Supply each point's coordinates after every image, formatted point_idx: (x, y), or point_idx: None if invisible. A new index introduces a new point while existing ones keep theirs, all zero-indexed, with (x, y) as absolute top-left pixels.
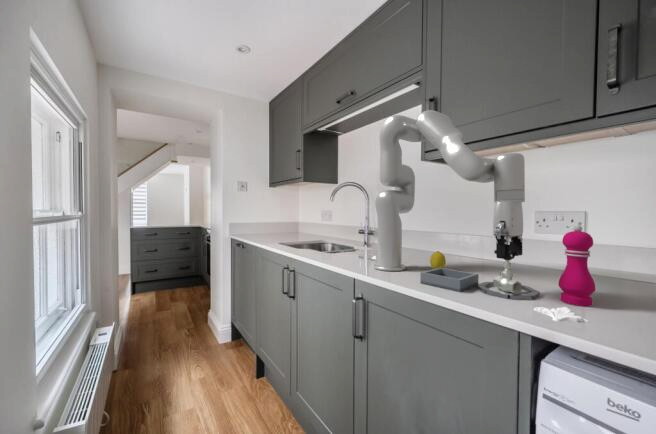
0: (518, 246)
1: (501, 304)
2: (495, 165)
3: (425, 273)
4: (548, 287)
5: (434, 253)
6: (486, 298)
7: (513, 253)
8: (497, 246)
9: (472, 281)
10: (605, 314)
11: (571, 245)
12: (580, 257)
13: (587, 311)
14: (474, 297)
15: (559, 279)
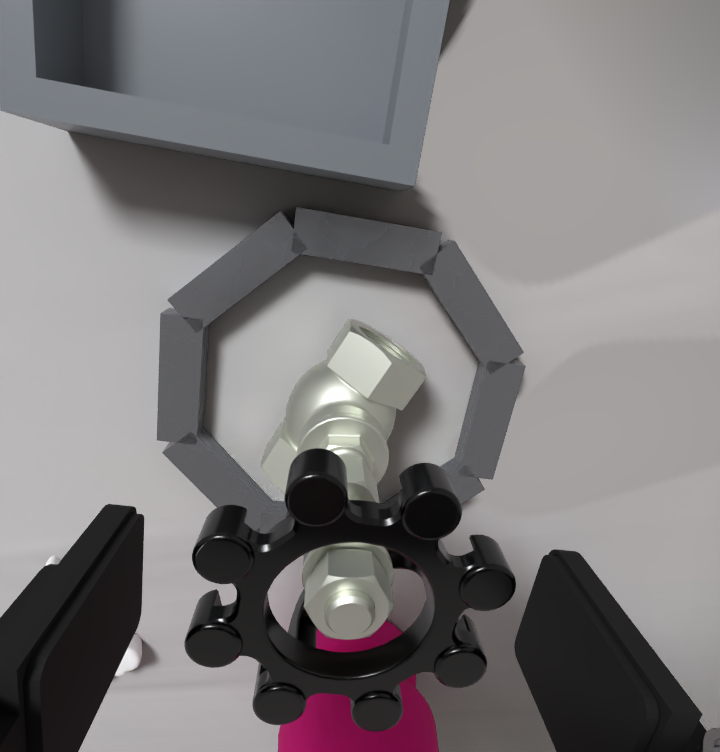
0: (567, 735)
1: (18, 426)
2: None
3: None
4: (612, 545)
5: None
6: (70, 332)
7: (270, 670)
8: (10, 639)
9: (289, 166)
10: (240, 731)
11: None
12: None
13: (233, 692)
14: (24, 264)
15: (346, 716)
